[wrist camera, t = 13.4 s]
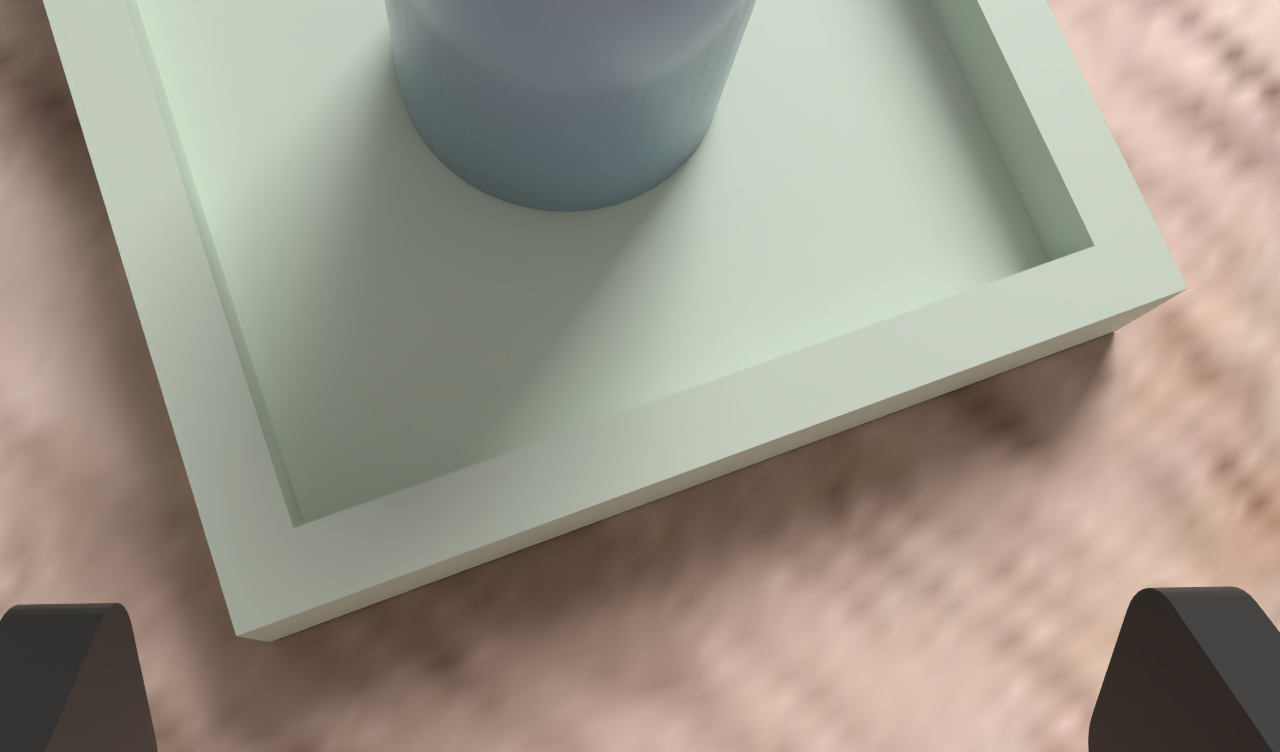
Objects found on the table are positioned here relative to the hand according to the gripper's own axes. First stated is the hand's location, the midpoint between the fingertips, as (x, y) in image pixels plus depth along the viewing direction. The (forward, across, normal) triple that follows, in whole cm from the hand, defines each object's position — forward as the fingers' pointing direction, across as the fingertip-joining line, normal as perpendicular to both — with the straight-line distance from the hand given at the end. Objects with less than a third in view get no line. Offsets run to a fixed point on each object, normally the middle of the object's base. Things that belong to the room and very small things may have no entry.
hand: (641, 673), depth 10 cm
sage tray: (+15, 0, 0) cm, 15 cm away
